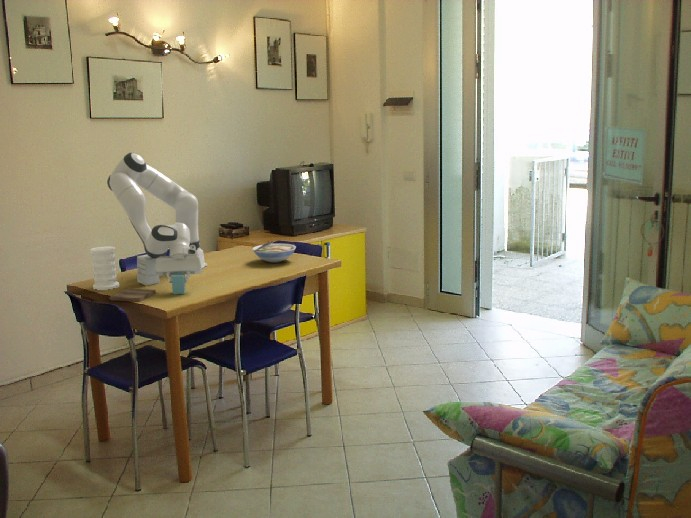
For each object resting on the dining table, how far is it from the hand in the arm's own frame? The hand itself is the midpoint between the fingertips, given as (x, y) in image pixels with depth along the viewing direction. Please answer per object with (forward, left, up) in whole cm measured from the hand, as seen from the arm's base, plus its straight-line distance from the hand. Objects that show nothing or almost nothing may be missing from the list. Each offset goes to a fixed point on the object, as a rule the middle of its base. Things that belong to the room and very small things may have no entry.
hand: (178, 281), depth 304 cm
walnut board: (-7, -18, -5) cm, 20 cm away
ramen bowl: (-32, +64, -5) cm, 72 cm away
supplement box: (-27, -5, -5) cm, 28 cm away
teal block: (-1, 0, -5) cm, 5 cm away
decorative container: (-32, -23, -5) cm, 40 cm away
